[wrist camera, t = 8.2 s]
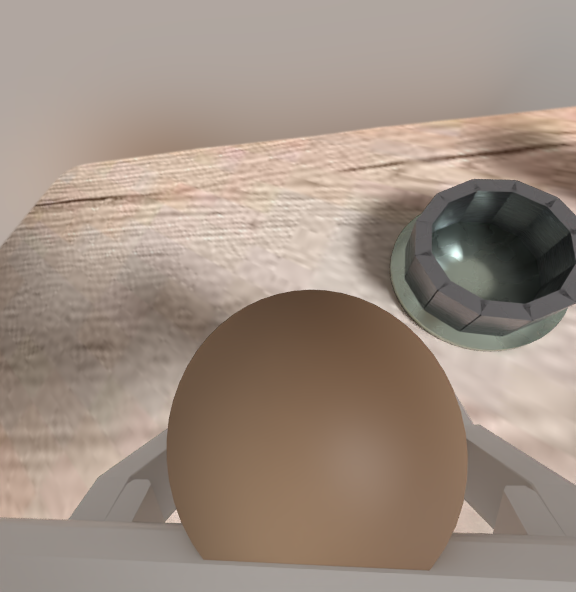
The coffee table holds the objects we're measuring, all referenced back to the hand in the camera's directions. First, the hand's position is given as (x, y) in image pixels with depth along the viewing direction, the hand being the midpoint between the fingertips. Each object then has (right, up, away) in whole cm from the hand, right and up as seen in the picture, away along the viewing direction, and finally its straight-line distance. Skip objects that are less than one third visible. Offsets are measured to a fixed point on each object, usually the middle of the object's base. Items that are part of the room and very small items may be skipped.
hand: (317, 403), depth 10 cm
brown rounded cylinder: (+1, -3, +6) cm, 7 cm away
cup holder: (+13, +5, +13) cm, 19 cm away
